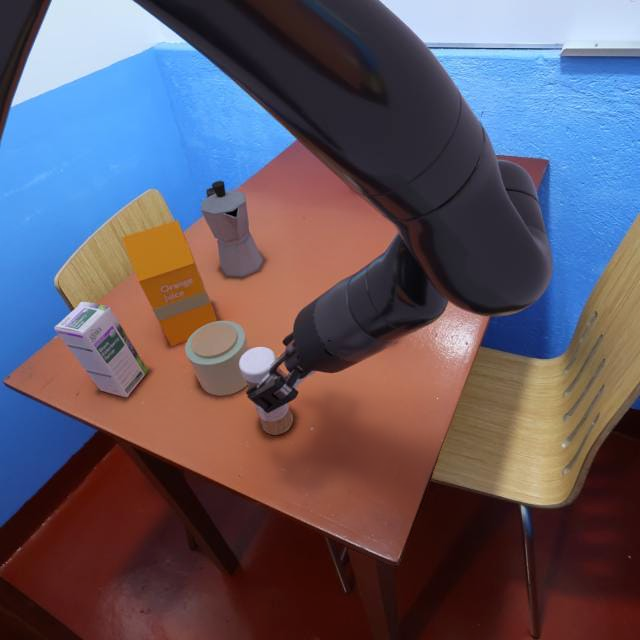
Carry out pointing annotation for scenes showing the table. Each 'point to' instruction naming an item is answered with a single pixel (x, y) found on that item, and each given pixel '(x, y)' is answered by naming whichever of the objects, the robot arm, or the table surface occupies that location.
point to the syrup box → (102, 348)
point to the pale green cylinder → (218, 356)
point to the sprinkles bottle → (257, 367)
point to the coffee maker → (231, 230)
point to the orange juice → (170, 280)
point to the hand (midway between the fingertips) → (271, 370)
